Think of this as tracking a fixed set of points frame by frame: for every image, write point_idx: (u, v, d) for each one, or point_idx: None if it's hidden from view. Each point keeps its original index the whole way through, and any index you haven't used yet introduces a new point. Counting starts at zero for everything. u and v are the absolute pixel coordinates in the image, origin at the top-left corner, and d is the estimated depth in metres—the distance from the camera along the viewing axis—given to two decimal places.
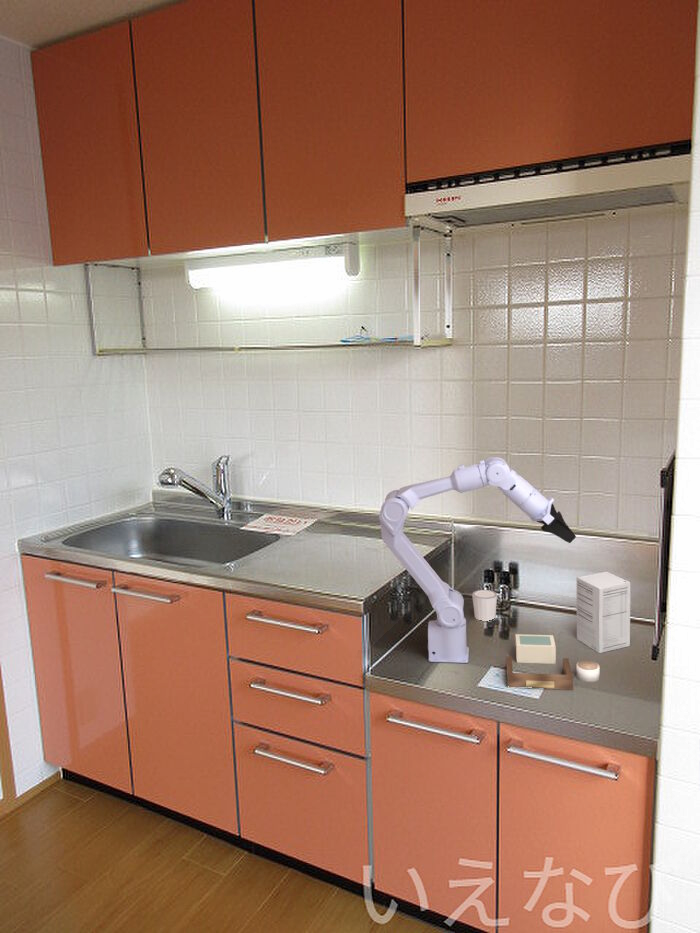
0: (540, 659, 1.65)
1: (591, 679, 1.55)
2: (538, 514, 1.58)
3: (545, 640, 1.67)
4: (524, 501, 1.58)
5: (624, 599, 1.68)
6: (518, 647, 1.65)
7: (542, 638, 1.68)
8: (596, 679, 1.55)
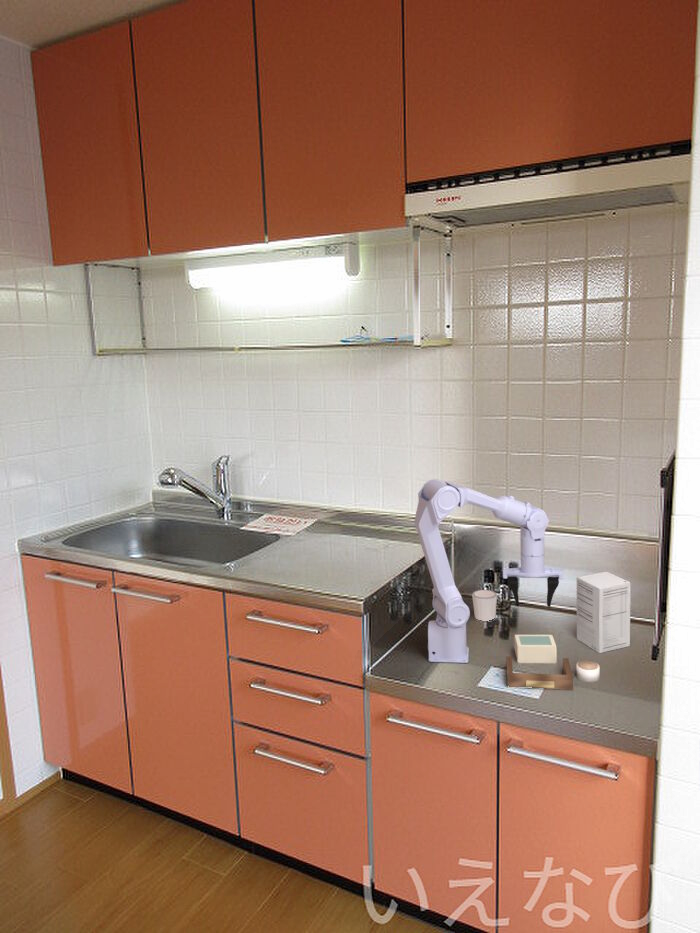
0: (541, 659, 1.65)
1: (591, 679, 1.55)
2: (543, 571, 1.71)
3: (545, 640, 1.67)
4: None
5: (624, 599, 1.68)
6: (519, 648, 1.65)
7: (542, 638, 1.68)
8: (596, 679, 1.55)
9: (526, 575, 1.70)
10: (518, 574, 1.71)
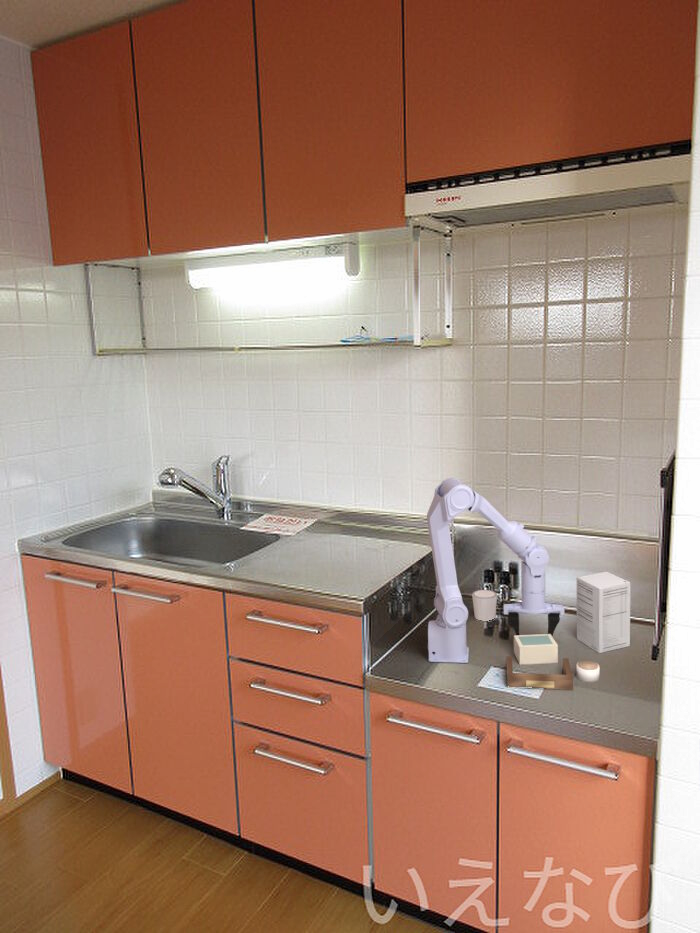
0: (542, 659, 1.64)
1: (591, 679, 1.55)
2: (544, 607, 1.70)
3: (545, 639, 1.67)
4: None
5: (624, 599, 1.68)
6: (521, 648, 1.64)
7: (541, 637, 1.68)
8: (596, 679, 1.55)
9: (527, 611, 1.69)
10: (519, 610, 1.70)
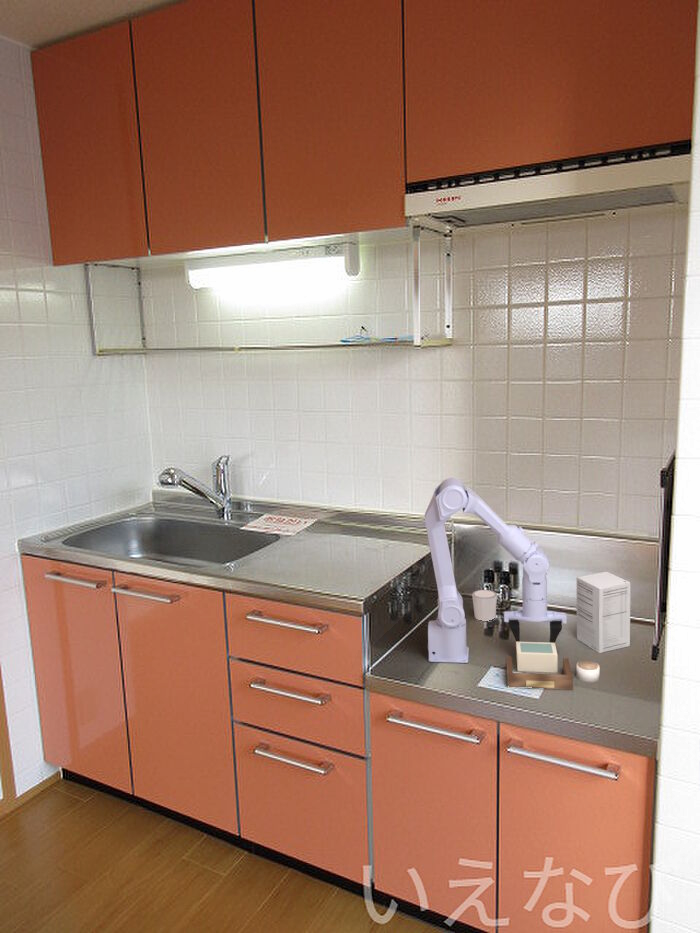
0: (541, 668, 1.60)
1: (591, 679, 1.55)
2: (546, 615, 1.65)
3: (547, 647, 1.63)
4: (546, 597, 1.65)
5: (624, 599, 1.68)
6: (519, 655, 1.61)
7: (543, 645, 1.64)
8: (596, 679, 1.55)
9: (528, 619, 1.65)
10: (520, 618, 1.66)
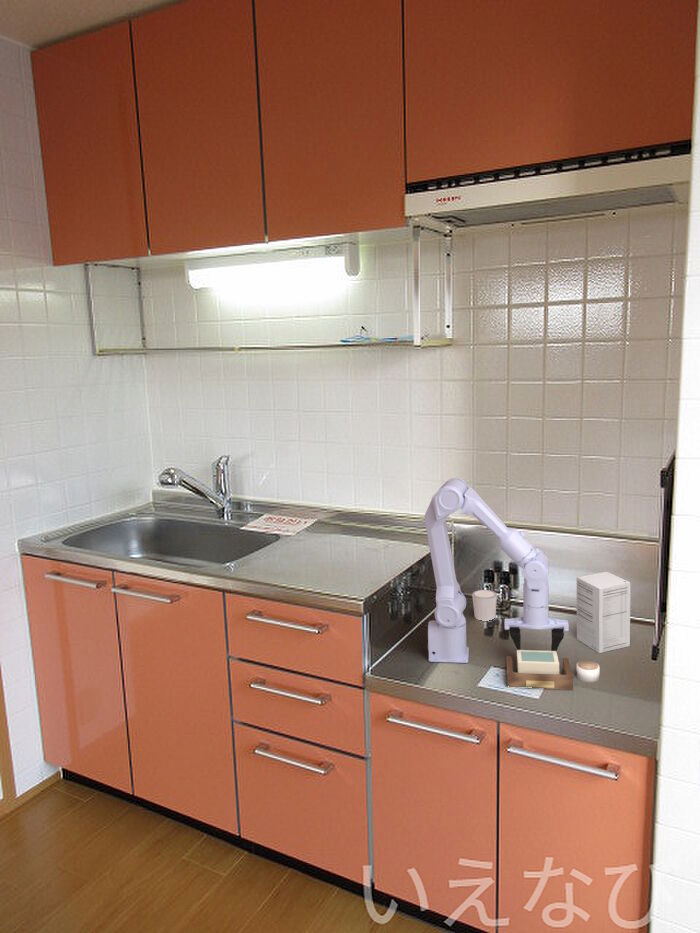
0: None
1: (591, 679, 1.55)
2: (548, 622, 1.61)
3: (548, 656, 1.59)
4: (548, 604, 1.60)
5: (624, 599, 1.68)
6: (520, 664, 1.57)
7: (545, 654, 1.60)
8: (596, 679, 1.55)
9: (529, 627, 1.60)
10: (521, 625, 1.62)
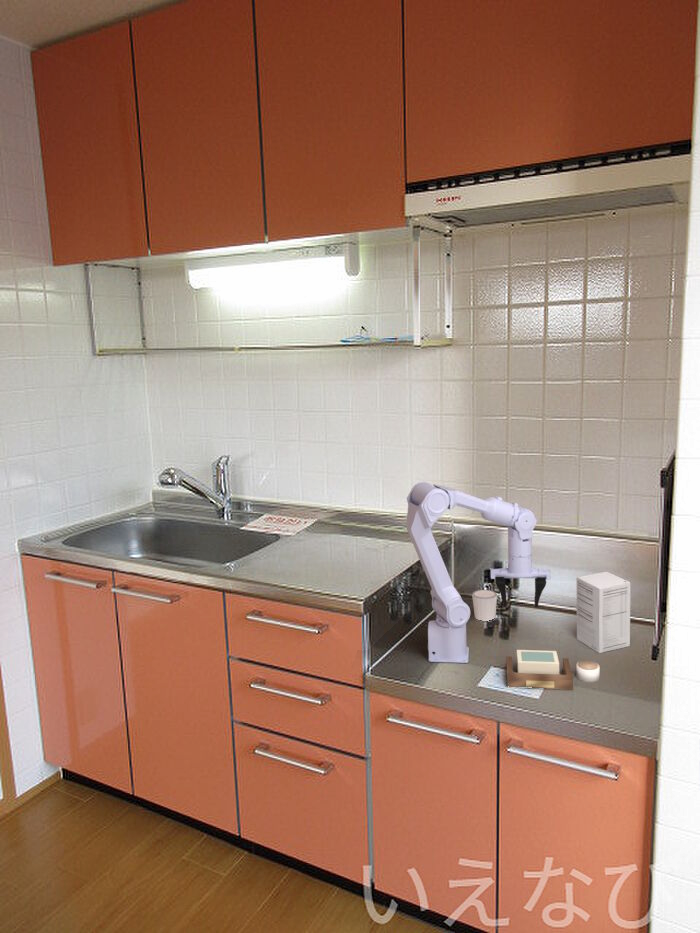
0: None
1: (591, 679, 1.55)
2: (531, 571, 1.71)
3: (548, 656, 1.59)
4: (531, 554, 1.71)
5: (624, 599, 1.68)
6: (520, 664, 1.57)
7: (545, 654, 1.60)
8: (596, 679, 1.55)
9: (513, 575, 1.71)
10: (506, 574, 1.72)
